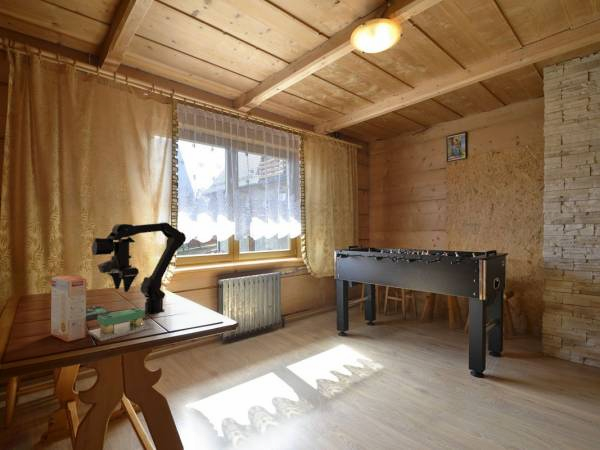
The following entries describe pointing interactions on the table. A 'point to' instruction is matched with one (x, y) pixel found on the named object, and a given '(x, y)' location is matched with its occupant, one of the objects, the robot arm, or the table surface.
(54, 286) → the cracker box
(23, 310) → the table surface
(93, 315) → the disk drive
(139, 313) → the board
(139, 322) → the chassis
